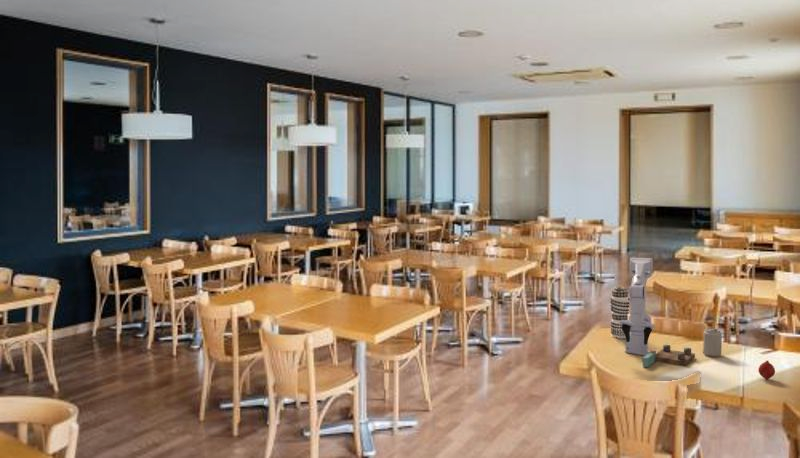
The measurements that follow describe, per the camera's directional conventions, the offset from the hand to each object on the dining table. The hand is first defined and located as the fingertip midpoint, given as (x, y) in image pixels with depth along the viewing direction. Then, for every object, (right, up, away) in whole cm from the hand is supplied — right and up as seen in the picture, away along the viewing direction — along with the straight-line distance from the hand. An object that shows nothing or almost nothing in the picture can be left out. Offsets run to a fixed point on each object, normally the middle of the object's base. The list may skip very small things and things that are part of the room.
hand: (636, 342), depth 291 cm
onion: (+44, -11, -23) cm, 51 cm away
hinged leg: (+5, -9, 0) cm, 11 cm away
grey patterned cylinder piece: (+8, -5, +46) cm, 47 cm away
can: (+38, -8, +11) cm, 40 cm away
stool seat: (+19, -8, +6) cm, 21 cm away
